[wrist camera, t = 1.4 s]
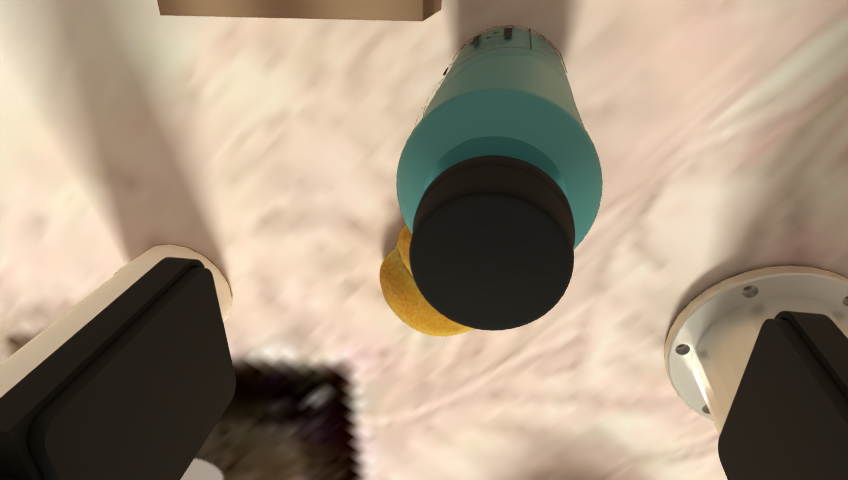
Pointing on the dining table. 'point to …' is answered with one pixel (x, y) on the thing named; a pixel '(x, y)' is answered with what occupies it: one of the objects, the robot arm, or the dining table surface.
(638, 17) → the dining table surface
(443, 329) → the bread roll
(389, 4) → the u rest
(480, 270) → the beverage bottle
